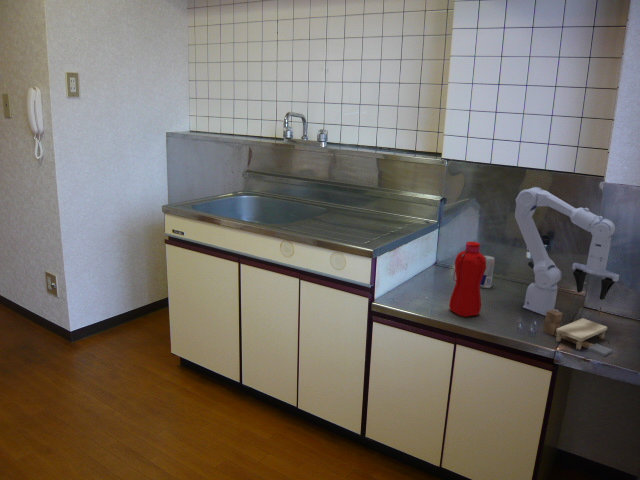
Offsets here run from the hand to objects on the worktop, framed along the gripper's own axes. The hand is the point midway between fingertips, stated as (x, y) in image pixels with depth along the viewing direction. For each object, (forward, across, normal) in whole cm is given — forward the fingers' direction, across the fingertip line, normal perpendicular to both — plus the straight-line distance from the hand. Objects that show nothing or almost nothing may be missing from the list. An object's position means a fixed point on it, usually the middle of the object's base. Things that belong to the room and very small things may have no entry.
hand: (590, 295), depth 182 cm
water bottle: (+10, -28, -30) cm, 42 cm away
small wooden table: (+10, +6, -15) cm, 19 cm away
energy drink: (+10, -41, 0) cm, 42 cm away
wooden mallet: (+10, +4, -18) cm, 21 cm away
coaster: (+10, +14, -18) cm, 25 cm away
